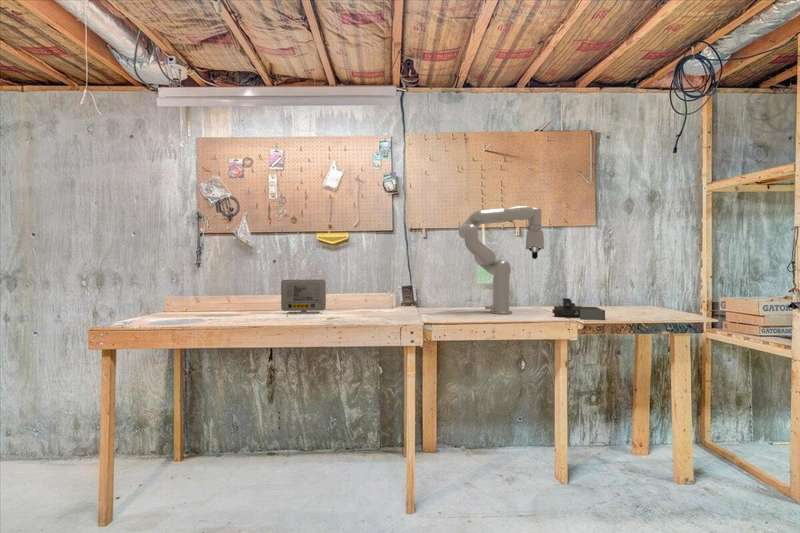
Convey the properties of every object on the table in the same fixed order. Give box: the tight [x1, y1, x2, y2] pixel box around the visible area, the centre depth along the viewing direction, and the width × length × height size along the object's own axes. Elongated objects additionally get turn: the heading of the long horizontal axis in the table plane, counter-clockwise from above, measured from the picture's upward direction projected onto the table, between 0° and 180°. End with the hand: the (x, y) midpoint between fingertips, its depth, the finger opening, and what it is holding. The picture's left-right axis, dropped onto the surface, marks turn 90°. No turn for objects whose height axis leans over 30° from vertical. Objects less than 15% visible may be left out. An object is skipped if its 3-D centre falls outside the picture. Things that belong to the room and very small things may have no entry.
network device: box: [280, 279, 327, 315], centre depth 246 cm, size 26×9×20 cm, turn 94°
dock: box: [579, 306, 606, 321], centre depth 226 cm, size 12×17×5 cm
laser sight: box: [551, 297, 598, 319], centre depth 228 cm, size 10×22×10 cm, turn 73°
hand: (534, 258), depth 250 cm, fingers closed
